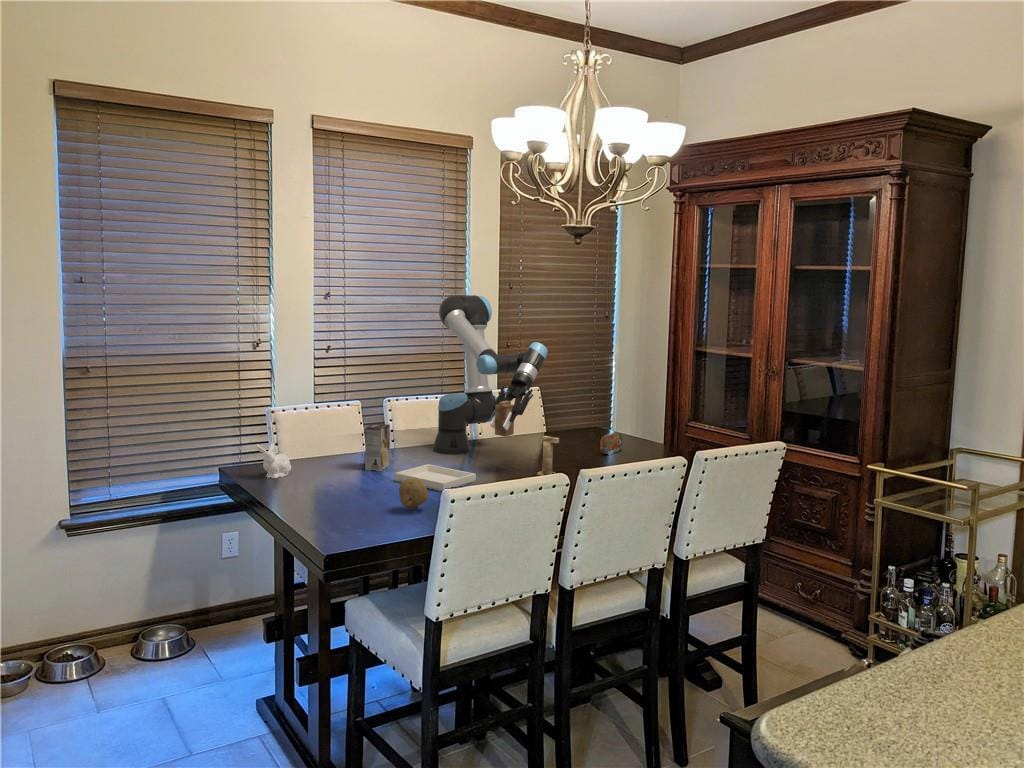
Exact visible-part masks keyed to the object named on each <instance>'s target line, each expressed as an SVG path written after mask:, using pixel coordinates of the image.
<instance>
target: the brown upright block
mask: <svg viewBox="0 0 1024 768" xmlns="http://www.w3.org/2000/svg"><path fill="white" fill-rule="evenodd" d="M513 407H514V404H512V401H503V402H499V405H495V428H494V435H496V436H502V437H509V436H512V435H514V433H515V431H514V430H515V428H514V427H515V421H514V422H511V424H510V426H509V428H508V430H505V429H504V427H503V425H504V423H505V421H506V419H507V417H508V415H509V413H510V412H512V411H513ZM512 413H513V412H512Z"/></svg>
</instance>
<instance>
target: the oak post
mask: <svg viewBox="0 0 1024 768" xmlns="http://www.w3.org/2000/svg"><path fill="white" fill-rule="evenodd" d="M541 441H542V443H543V444H542V446H543V447H542V464H541V465H542V468H541V471H538V472H537V475H544V474H552V473H556V472H555V471H553V458H554V457H553V453H554V444H559V443H560V437H554V436H548V435H543V436H542V440H541Z"/></svg>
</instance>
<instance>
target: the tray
mask: <svg viewBox="0 0 1024 768" xmlns="http://www.w3.org/2000/svg"><path fill="white" fill-rule="evenodd" d="M411 478H417V479H419V480H421V481H422V482H423V484H424V485H425V487H426V489H427V488H430V489H429V490H431V489H434V490H433V491H436V490H437V491H436V492H441V491H442V490H443V489H445V488H451V487H459V486H462V487H465V486H464V484H466V483H470V482H475V481H476V482H477V474H476V473H473V472H469V471H463V470H459V469H453V468H449V467H443V466H439V465H434V464H430V463H429V464H428V463H427V464H424V465H420V466H416V467H412V468H407V469H405V470H400V471H396V472H394V482H396V481H398V482H397V483H401V482H403V481H404V480H406V479H411ZM476 482H475V483H476ZM459 488H460V487H459ZM441 493H442V492H441Z"/></svg>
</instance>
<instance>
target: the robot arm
mask: <svg viewBox="0 0 1024 768" xmlns="http://www.w3.org/2000/svg"><path fill="white" fill-rule="evenodd" d="M489 301H490V300H488V299H487V298H486V297H485V296H482V295H476V294H475V295H472V294H471V295H464V294H463V295H459V294H458V295H457V294H455V295H450V296H447V297H446V298H445V299H443V301H442V302H441V303H440V306H439V310H438V315H439V318H440V319H439V320H440V322H441V323H442V324H443V326H444V327H445V328H446V329H448V330H451V331H452V332H453V333H454V335H455V336H456V338H457V339H459V340H460V342H461V343H462V344H463V345H464V349H465V351H464V352H465V353H464V354H465V362H466V363H465V364H466V365H465V366H466V375H467V379H466V380H467V389H466V391H465V392H464V393H462V392H456V393H448V394H444V395H442V396H440V398H439V400H438V407H437V409H438V423H437V424H438V425H437V427H438V428H437V430H438V431H437V434H436V437H435V440H434V443H433V451H434V452H435V453H439V454H443V453H444V454H445V455H448V454H449V455H461V454H460V453H463V454H466V452H467V453H470V451H471V445H470V442H469V438H468V434H467V425H474V424H475V425H476V424H487V423H489V425H490V427H491V428H492V429H495V405H499V402H503V401H511V402H512V401H513V400H514V404H513V405H514V407H513V411H512V412H513V413H512V412H510V413H509V415H508V417H507V419H506V421H505V423H504V425H503V427H504V429H505V430H508V428H509V426H510V424H511V422H514V423H515V420H516V418H517V416H523V414H524V413H525V410H526V408H527V406H528V405H529V402H530V401H531V399H532V398H533V397H534V394H533V392H532V391H531V390H530V389H531V387H532V386H533V383H534V381H535V379H536V377H537V376H538V374H539V371H540V370H541V368H542V365H544V362H545V361H546V358H547V356H548V353H549V350H548V348H547V347H546V346H545V345H544V344H542V343H540V342H537V341H536V342H532V343H531V344H530V345H529V346H528V349H527V350H524V351H522V352H518V353H506V354H497V353H496V352H495V350H494V349H493V348H492V347H491V345H490V344H488V342H487V341H486V340H485V329H486V328H488V323H489V322H490V321H491V319H492V314H493V311H492V305H491V303H490V302H489ZM502 374H507V375H508V374H509V375H513V377H512V379H511V383H510V385H509V386H508V387H504V386H501V388H500V392H499V393H498V395H497V396H496V395H494V394H493V389H491V388H490V387H489V380H488V377H489V376H490V375H491V376H492V375H502Z"/></svg>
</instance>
